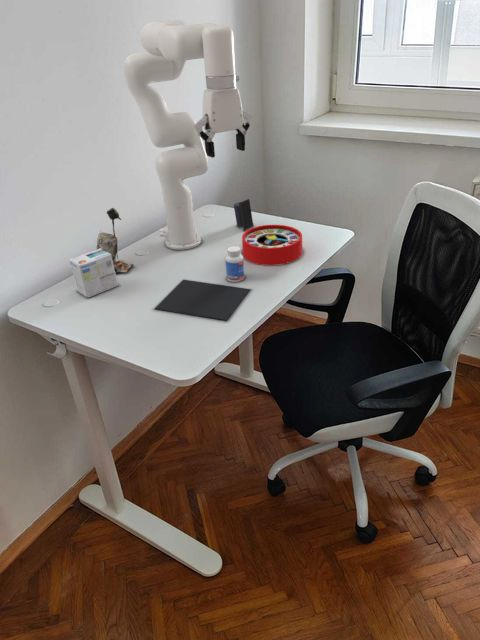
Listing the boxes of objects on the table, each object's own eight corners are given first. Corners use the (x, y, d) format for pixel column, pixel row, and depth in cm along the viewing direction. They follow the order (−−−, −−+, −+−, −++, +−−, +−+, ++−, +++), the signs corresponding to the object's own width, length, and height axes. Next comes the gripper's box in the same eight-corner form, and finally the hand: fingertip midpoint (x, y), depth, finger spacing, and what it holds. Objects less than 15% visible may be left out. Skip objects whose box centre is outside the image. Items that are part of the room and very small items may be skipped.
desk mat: (154, 309, 147) (154, 308, 147) (183, 280, 161) (183, 279, 161) (226, 321, 141) (226, 319, 141) (249, 290, 154) (249, 289, 154)
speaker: (257, 227, 194) (253, 199, 188) (243, 231, 191) (239, 203, 186) (247, 222, 199) (243, 195, 194) (234, 226, 197) (230, 199, 192)
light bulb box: (107, 279, 163) (100, 247, 157) (119, 286, 159) (112, 253, 153) (76, 291, 157) (67, 258, 151) (87, 298, 153) (79, 265, 147)
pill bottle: (242, 282, 158) (240, 253, 153) (224, 281, 159) (222, 252, 154) (246, 274, 163) (244, 245, 157) (229, 273, 164) (227, 244, 158)
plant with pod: (108, 262, 174) (94, 203, 162) (137, 266, 170) (126, 206, 159) (93, 272, 167) (79, 212, 156) (123, 277, 164) (111, 216, 153)
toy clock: (256, 221, 183) (310, 228, 176) (257, 237, 187) (310, 244, 180) (231, 243, 168) (289, 252, 162) (232, 260, 172) (289, 269, 165)
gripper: (240, 77, 138) (244, 145, 148) (183, 85, 130) (191, 156, 140) (257, 80, 133) (259, 150, 143) (199, 89, 125) (205, 162, 135)
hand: (226, 153), depth 141 cm, fingers open, 9 cm apart
